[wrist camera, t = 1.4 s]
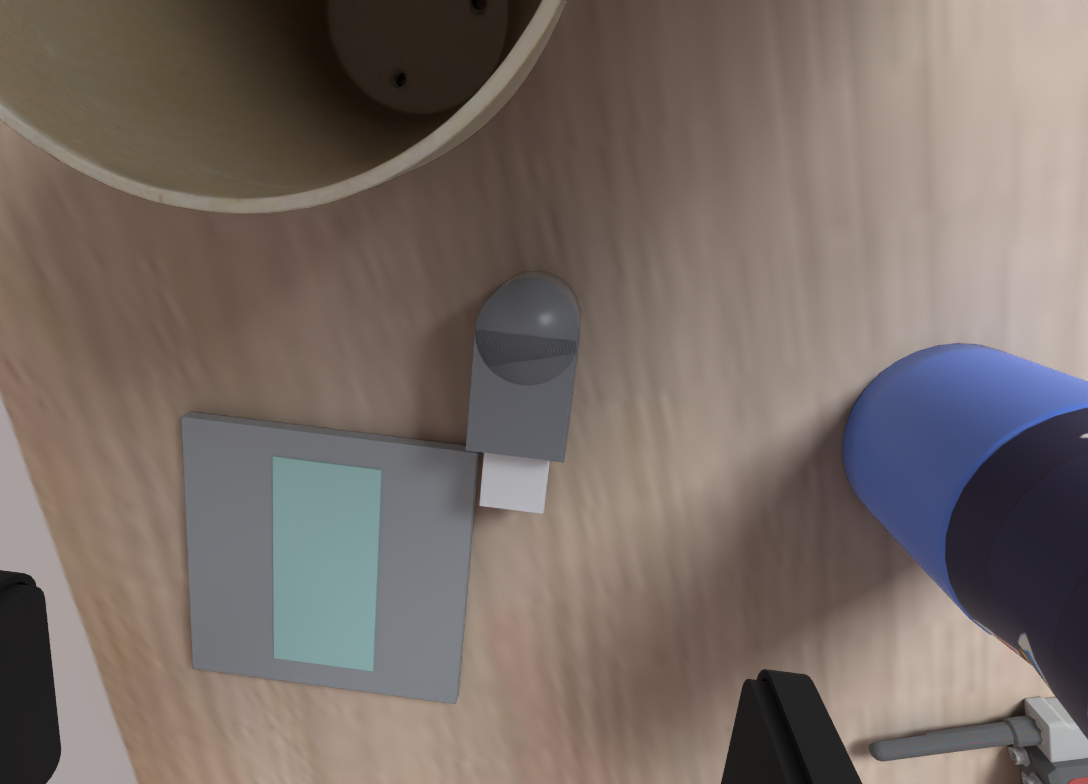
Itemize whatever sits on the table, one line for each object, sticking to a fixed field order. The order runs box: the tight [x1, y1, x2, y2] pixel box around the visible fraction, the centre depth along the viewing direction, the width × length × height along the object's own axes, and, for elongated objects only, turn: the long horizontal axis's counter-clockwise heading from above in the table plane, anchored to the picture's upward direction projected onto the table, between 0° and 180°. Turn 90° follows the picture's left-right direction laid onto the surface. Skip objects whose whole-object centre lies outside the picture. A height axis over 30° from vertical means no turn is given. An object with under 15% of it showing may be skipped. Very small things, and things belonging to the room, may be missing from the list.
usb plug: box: [466, 271, 580, 514], centre depth 29 cm, size 10×4×4 cm, turn 174°
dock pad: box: [181, 412, 479, 704], centre depth 33 cm, size 14×14×1 cm
